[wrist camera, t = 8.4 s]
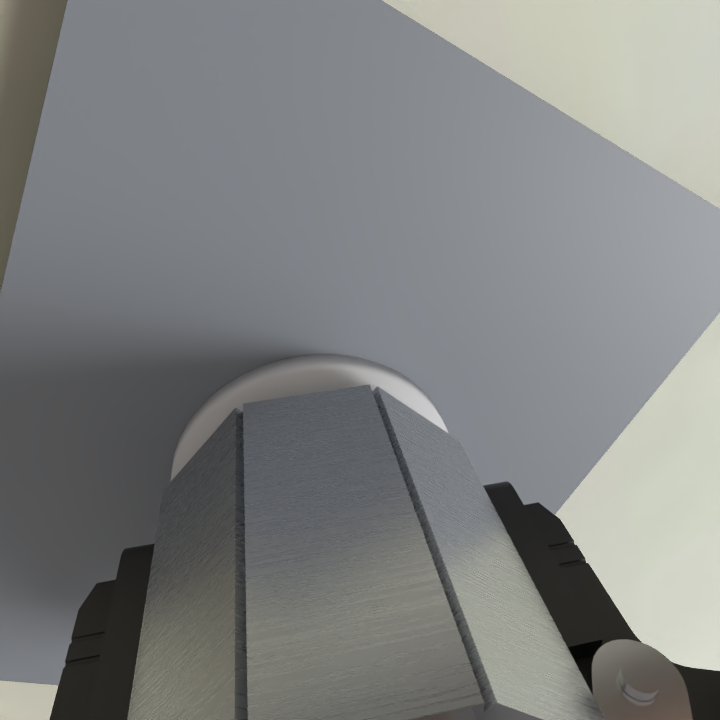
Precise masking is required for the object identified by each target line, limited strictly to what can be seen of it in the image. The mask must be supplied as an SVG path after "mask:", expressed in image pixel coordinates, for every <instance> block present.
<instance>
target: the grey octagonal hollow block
mask: <svg viewBox="0 0 720 720" xmlns="http://www.w3.org/2000/svg"><path fill="white" fill-rule="evenodd" d="M127 720H605V718H604V716H603V714H602V712H601V710H600V708H599V707H598V705H597V703H596V701H595V699H594V697H593V695H592V693H591V691H590V689H589V687H588V686H587V684H586V682H585V680H584V678H583V676H582V674H581V672H580V670H579V668H578V666H577V665H576V663H575V661H574V659H573V657H572V655H571V653H570V651H569V649H568V647H567V645H566V644H565V642H564V640H563V638H562V636H561V634H560V632H559V630H558V628H557V626H556V624H555V623H554V621H553V619H552V617H551V615H550V613H549V611H548V609H547V607H546V605H545V603H544V602H543V600H542V598H541V596H540V594H539V592H538V590H537V588H536V586H535V584H534V582H533V580H532V579H531V577H530V575H529V573H528V571H527V569H526V567H525V565H524V563H523V561H522V559H521V558H520V556H519V554H518V552H517V550H516V548H515V546H514V544H513V542H512V540H511V538H510V537H509V535H508V533H507V531H506V529H505V527H504V525H503V523H502V521H501V519H500V517H499V516H498V514H497V512H496V510H495V508H494V506H493V504H492V502H491V500H490V498H489V496H488V495H487V493H486V491H485V489H484V487H483V485H482V483H481V481H480V479H479V477H478V475H477V474H476V472H475V470H474V468H473V466H472V464H471V462H470V460H469V458H468V456H467V454H466V452H465V451H464V449H463V447H462V445H461V443H460V441H459V440H458V439H456V438H455V437H453V436H452V435H450V434H449V433H447V432H446V431H444V430H443V429H441V428H440V427H438V426H437V425H435V424H434V423H432V422H431V421H429V420H428V419H426V418H425V417H423V416H422V415H420V414H419V413H417V412H416V411H414V410H413V409H411V408H410V407H408V406H407V405H405V404H404V403H402V402H401V401H399V400H398V399H396V398H395V397H393V396H392V395H390V394H389V393H387V392H386V391H384V390H383V389H381V388H380V387H378V386H377V387H376V388H375V389H374V390H373V391H372V389H371V387H370V385H363V386H357V387H350V388H343V389H337V390H330V391H323V392H317V393H310V394H304V395H297V396H290V397H284V398H277V399H270V400H264V401H257V402H250V403H244V404H243V411H241V410H239V409H238V408H235V409H234V410H233V411H232V412H231V413H230V414H229V416H228V417H227V418H226V419H225V420H224V421H223V422H222V424H221V425H220V426H219V427H218V428H217V429H216V431H215V432H214V433H213V434H212V435H211V436H210V437H209V439H208V440H207V441H206V442H205V443H204V444H203V445H202V447H201V448H200V449H199V450H198V451H197V452H196V453H195V455H194V456H193V457H192V458H191V459H190V460H189V461H188V463H187V464H186V465H185V466H184V467H183V468H182V469H181V471H180V472H179V473H178V474H177V475H176V476H175V477H174V479H173V480H172V481H171V482H170V483H169V484H168V485H167V487H166V488H165V489H164V490H163V496H162V500H161V507H160V513H159V519H158V526H157V532H156V539H155V545H154V552H153V558H152V564H151V571H150V577H149V584H148V590H147V597H146V603H145V609H144V616H143V622H142V629H141V635H140V641H139V648H138V654H137V661H136V667H135V674H134V680H133V686H132V693H131V699H130V706H129V712H128V719H127Z"/></svg>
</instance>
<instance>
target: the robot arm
mask: <svg viewBox="0 0 720 720" xmlns="http://www.w3.org/2000/svg"><path fill="white" fill-rule="evenodd" d="M483 487H484V489H485V491H486V493H487V495H488V496H489V498H490V500H491V502H492V504H493V506H494V508H495V510H496V512H497V514H498V516H499V517H500V519H501V521H502V523H503V525H504V527H505V529H506V531H507V533H508V535H509V537H510V538H511V540H512V542H513V544H514V546H515V548H516V550H517V552H518V554H519V556H520V558H521V559H522V561H523V563H524V565H525V567H526V569H527V571H528V573H529V575H530V577H531V579H532V580H533V582H534V584H535V586H536V588H537V590H538V592H539V594H540V596H541V598H542V600H543V602H544V603H545V605H546V607H547V609H548V611H549V613H550V615H551V617H552V619H553V621H554V623H555V624H556V626H557V628H558V630H559V632H560V634H561V636H562V638H563V640H564V642H565V644H566V645H567V647H568V649H569V651H570V653H571V655H572V657H573V659H574V661H575V663H576V665H577V666H578V668H579V670H580V672H581V674H582V676H583V678H584V680H585V682H586V684H587V686H588V687H589V689H590V691H591V693H592V695H593V697H594V699H595V701H596V703H597V705H598V707H599V708H600V710H601V712H602V714H603V716H604V718H605V720H720V671H713V670H705V669H697V668H690V667H685V666H681V665H678V664H675V663H673V662H671V661H670V660H669V659H667V658H666V657H665V656H664V655H663V654H661V653H660V652H659V651H657V650H656V649H654V648H652V647H650V646H648V645H646V644H644V643H642V642H641V641H640V640H639V639H638V638H637V637H636V636H635V634H634V633H633V632H632V630H631V629H630V627H629V626H628V624H627V623H626V621H625V620H624V618H623V617H622V615H621V613H620V612H619V610H618V609H617V607H616V606H615V604H614V603H613V601H612V599H611V598H610V596H609V595H608V593H607V592H606V590H605V589H604V587H603V585H602V584H601V582H600V581H599V579H598V578H597V576H596V575H595V573H594V571H593V570H592V568H591V567H590V565H589V564H588V563H586V561H585V557H584V556H583V554H582V553H581V551H580V550H579V548H578V546H577V545H575V544H574V540H573V539H572V537H571V536H570V534H569V532H568V531H567V529H566V528H565V526H564V525H563V523H562V522H561V520H560V519H559V518H558V517H557V516H555V515H554V514H553V513H551V512H550V511H549V510H548V509H546V508H545V507H544V506H543V505H541V504H540V503H539V502H537V503H532V504H526V505H524V504H523V502H522V501H521V499H520V497H519V496H518V494H517V492H516V491H515V489H514V487H513V486H512V485H511V483H509V482H507V481H506V482H500V483H495V484H489V485H483ZM154 545H155V543H154V544H148V545H143V546H137V547H132V548H126V549H124V550H123V552H122V554H121V558H120V562H119V567H118V572H117V577H116V580H111V581H105V582H100V583H96V585H95V586H94V588H93V589H92V591H91V592H90V594H89V595H88V597H87V598H86V600H85V601H84V602H83V604H82V605H81V607H80V608H79V610H78V614H77V618H76V621H75V625H74V629H73V633H72V637H71V639H72V642H71V644H69V648H68V652H67V656H66V659H65V667H64V668H63V671H62V675H61V678H60V682H59V686H58V690H57V694H56V697H55V701H54V705H53V709H52V713H51V716H50V720H127V719H128V712H129V706H130V699H131V693H132V686H133V680H134V674H135V667H136V661H137V654H138V648H139V641H140V635H141V629H142V622H143V616H144V609H145V603H146V597H147V590H148V584H149V577H150V571H151V564H152V558H153V552H154Z"/></svg>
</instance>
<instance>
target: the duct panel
mask: <svg viewBox="0 0 720 720" xmlns="http://www.w3.org/2000/svg"><path fill="white" fill-rule="evenodd" d="M719 313H720V209H719V208H717V207H715V206H714V205H712V204H711V203H709V202H707V201H706V200H704V199H702V198H701V197H699V196H698V195H696V194H694V193H693V192H691V191H689V190H688V189H686V188H685V187H683V186H681V185H680V184H678V183H677V182H675V181H673V180H672V179H670V178H668V177H667V176H665V175H664V174H662V173H660V172H659V171H657V170H655V169H654V168H652V167H651V166H649V165H647V164H646V163H644V162H643V161H641V160H639V159H638V158H636V157H634V156H633V155H631V154H630V153H628V152H626V151H625V150H623V149H621V148H620V147H618V146H617V145H615V144H613V143H612V142H610V141H608V140H607V139H605V138H604V137H602V136H600V135H599V134H597V133H596V132H594V131H592V130H591V129H589V128H587V127H586V126H584V125H583V124H581V123H579V122H578V121H576V120H574V119H573V118H571V117H570V116H568V115H566V114H565V113H563V112H562V111H560V110H558V109H557V108H555V107H553V106H552V105H550V104H549V103H547V102H545V101H544V100H542V99H540V98H539V97H537V96H536V95H534V94H532V93H531V92H529V91H527V90H526V89H524V88H523V87H521V86H519V85H518V84H516V83H515V82H513V81H511V80H510V79H508V78H506V77H505V76H503V75H502V74H500V73H498V72H497V71H495V70H493V69H492V68H490V67H489V66H487V65H485V64H484V63H482V62H481V61H479V60H477V59H476V58H474V57H472V56H471V55H469V54H468V53H466V52H464V51H463V50H461V49H459V48H458V47H456V46H455V45H453V44H451V43H450V42H448V41H446V40H445V39H443V38H442V37H440V36H438V35H437V34H435V33H434V32H432V31H430V30H429V29H427V28H425V27H424V26H422V25H421V24H419V23H417V22H416V21H414V20H412V19H411V18H409V17H408V16H406V15H404V14H403V13H401V12H399V11H398V10H396V9H395V8H393V7H391V6H390V5H388V4H387V3H385V2H383V1H382V0H67V5H66V9H65V13H64V18H63V22H62V26H61V31H60V35H59V40H58V44H57V48H56V53H55V57H54V61H53V66H52V70H51V74H50V79H49V83H48V87H47V92H46V96H45V101H44V105H43V109H42V114H41V118H40V122H39V127H38V131H37V135H36V140H35V144H34V148H33V153H32V157H31V161H30V166H29V170H28V175H27V179H26V183H25V188H24V192H23V196H22V201H21V205H20V209H19V214H18V218H17V222H16V227H15V231H14V235H13V240H12V244H11V249H10V253H9V257H8V262H7V266H6V270H5V275H4V279H3V283H2V288H1V292H0V680H2V681H15V682H27V683H39V684H51V685H59V682H60V678H61V675H62V671H63V668H64V667H65V659H66V656H67V652H68V648H69V644H71V642H72V639H71V637H72V633H73V629H74V625H75V621H76V618H77V614H78V610H79V608H80V607H81V605H82V604H83V602H84V601H85V600H86V598H87V597H88V595H89V594H90V592H91V591H92V589H93V588H94V586H95V585H96V583H100V582H105V581H111V580H116V577H117V572H118V567H119V562H120V558H121V554H122V552H123V550H124V549H126V548H132V547H137V546H143V545H148V544H154V543H155V539H156V532H157V526H158V519H159V513H160V507H161V500H162V496H163V490H164V489H165V488H166V487H167V485H168V484H169V483H170V482H171V481H172V480H173V479H174V477H175V476H176V475H177V474H178V473H179V472H180V471H181V469H182V468H183V467H184V466H185V465H186V464H187V463H188V461H189V460H190V459H191V458H192V457H193V456H194V455H195V453H196V452H197V451H198V450H199V449H200V448H201V447H202V445H203V444H204V443H205V442H206V441H207V440H208V439H209V437H210V436H211V435H212V434H213V433H214V432H215V431H216V429H217V428H218V427H219V426H220V425H221V424H222V422H223V421H224V420H225V419H226V418H227V417H228V416H229V414H230V413H231V412H232V411H233V410H234V409H235V408H238V409H239V410H241V411H243V404H244V403H250V402H257V401H264V400H270V399H277V398H284V397H290V396H297V395H304V394H310V393H317V392H323V391H330V390H337V389H343V388H350V387H357V386H363V385H370V387H371V389H372V391H373V390H374V389H375V388H376V387H377V386H378V387H380V388H381V389H383V390H384V391H386V392H387V393H389V394H390V395H392V396H393V397H395V398H396V399H398V400H399V401H401V402H402V403H404V404H405V405H407V406H408V407H410V408H411V409H413V410H414V411H416V412H417V413H419V414H420V415H422V416H423V417H425V418H426V419H428V420H429V421H431V422H432V423H434V424H435V425H437V426H438V427H440V428H441V429H443V430H444V431H446V432H447V433H449V434H450V435H452V436H453V437H455V438H456V439H458V440H459V441H460V443H461V445H462V447H463V449H464V451H465V452H466V454H467V456H468V458H469V460H470V462H471V464H472V466H473V468H474V470H475V472H476V474H477V475H478V477H479V479H480V481H481V483H482V485H489V484H495V483H500V482H506V481H507V482H509V483H511V485H512V486H513V487H514V489H515V491H516V492H517V494H518V496H519V497H520V499H521V501H522V502H523V504H524V505H526V504H532V503H537V502H539V503H540V504H541V505H543V506H544V507H545V508H546V509H548V510H549V511H550V512H551V513H553V514H554V515H555V514H556V513H557V511H558V510H559V509H560V508H561V506H562V505H563V504H564V503H565V501H566V500H567V499H568V498H569V497H570V495H571V494H572V493H573V492H574V490H575V489H576V488H577V487H578V486H579V484H580V483H581V482H582V481H583V479H584V478H585V477H586V476H587V474H588V473H589V472H590V471H591V470H592V468H593V467H594V466H595V465H596V463H597V462H598V461H599V460H600V459H601V457H602V456H603V455H604V454H605V452H606V451H607V450H608V449H609V448H610V446H611V445H612V444H613V443H614V441H615V440H616V439H617V438H618V436H619V435H620V434H621V433H622V432H623V430H624V429H625V428H626V427H627V425H628V424H629V423H630V422H631V421H632V419H633V418H634V417H635V416H636V414H637V413H638V412H639V411H640V409H641V408H642V407H643V406H644V405H645V403H646V402H647V401H648V400H649V398H650V397H651V396H652V395H653V394H654V392H655V391H656V390H657V389H658V387H659V386H660V385H661V384H662V383H663V381H664V380H665V379H666V378H667V376H668V375H669V374H670V373H671V371H672V370H673V369H674V368H675V367H676V365H677V364H678V363H679V362H680V360H681V359H682V358H683V357H684V356H685V354H686V353H687V352H688V351H689V349H690V348H691V347H692V346H693V344H694V343H695V342H696V341H697V340H698V338H699V337H700V336H701V335H702V333H703V332H704V331H705V330H706V329H707V327H708V326H709V325H710V324H711V322H712V321H713V320H714V319H715V318H716V316H717V315H718V314H719Z"/></svg>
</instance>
